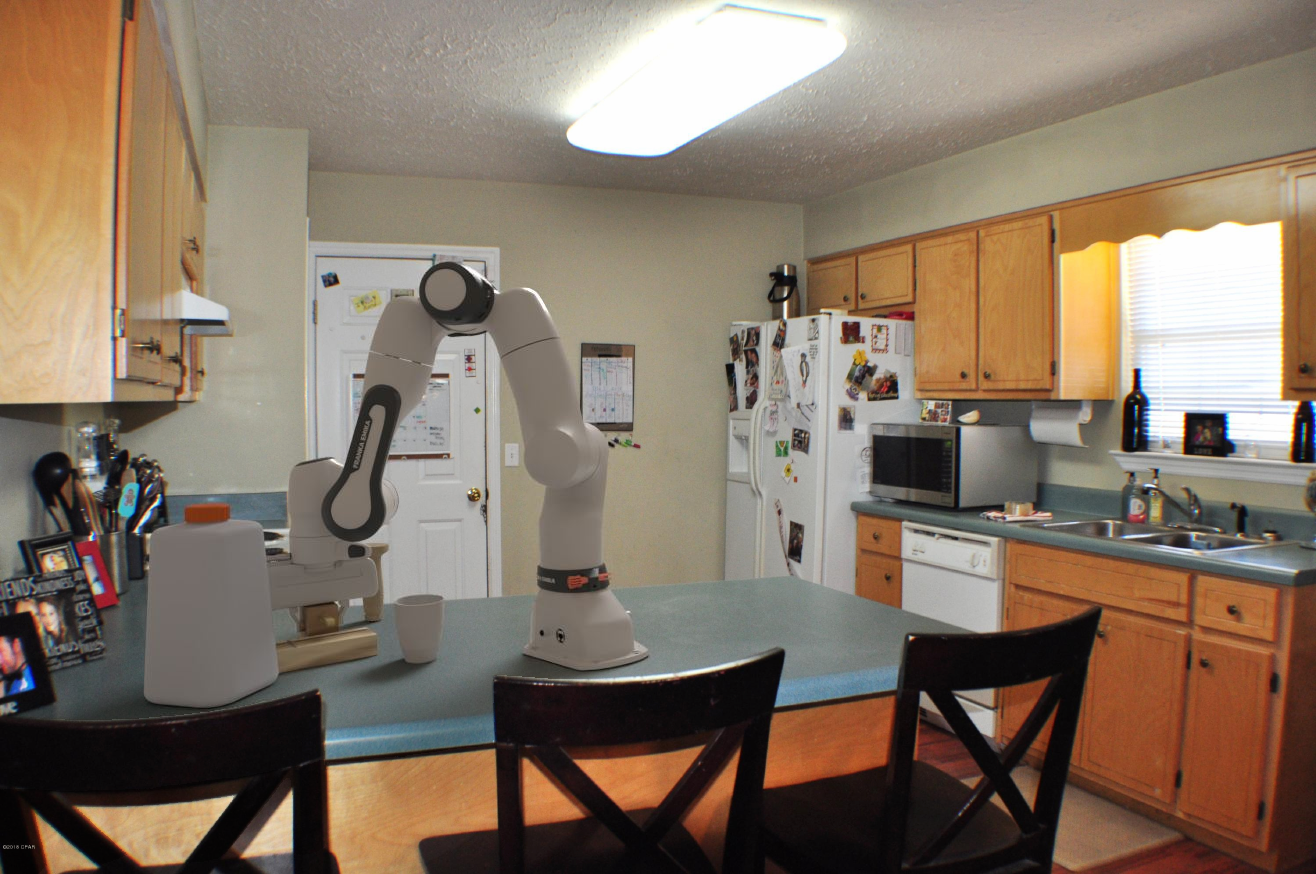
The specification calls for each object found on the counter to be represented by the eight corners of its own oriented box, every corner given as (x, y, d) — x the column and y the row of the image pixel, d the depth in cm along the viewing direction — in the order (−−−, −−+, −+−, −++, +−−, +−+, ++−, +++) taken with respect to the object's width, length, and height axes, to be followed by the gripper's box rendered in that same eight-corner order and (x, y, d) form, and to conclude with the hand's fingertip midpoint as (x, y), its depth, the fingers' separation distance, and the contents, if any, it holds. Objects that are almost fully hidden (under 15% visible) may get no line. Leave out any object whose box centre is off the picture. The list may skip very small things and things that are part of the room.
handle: (384, 623, 166) (382, 547, 165) (352, 623, 166) (350, 547, 166) (394, 617, 171) (392, 542, 170) (363, 617, 171) (361, 542, 171)
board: (377, 654, 145) (377, 633, 145) (277, 673, 136) (276, 651, 135) (366, 646, 150) (366, 626, 150) (268, 664, 140) (268, 642, 140)
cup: (427, 649, 148) (425, 592, 148) (456, 657, 143) (454, 598, 142) (385, 660, 142) (384, 600, 141) (414, 669, 137) (413, 607, 136)
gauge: (347, 651, 145) (346, 610, 144) (316, 656, 142) (315, 614, 141) (329, 637, 154) (328, 598, 153) (300, 641, 151) (299, 602, 150)
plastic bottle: (291, 678, 133) (285, 500, 132) (218, 713, 118) (210, 512, 117) (210, 672, 137) (203, 498, 136) (129, 704, 122) (122, 510, 121)
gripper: (256, 559, 140) (258, 642, 141) (380, 546, 152) (382, 622, 153) (248, 554, 145) (251, 634, 146) (369, 541, 157) (371, 616, 158)
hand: (319, 628), depth 150 cm, fingers closed on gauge, 5 cm apart
